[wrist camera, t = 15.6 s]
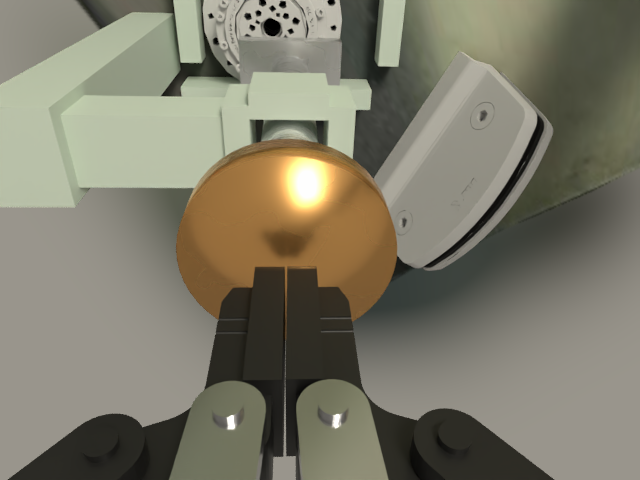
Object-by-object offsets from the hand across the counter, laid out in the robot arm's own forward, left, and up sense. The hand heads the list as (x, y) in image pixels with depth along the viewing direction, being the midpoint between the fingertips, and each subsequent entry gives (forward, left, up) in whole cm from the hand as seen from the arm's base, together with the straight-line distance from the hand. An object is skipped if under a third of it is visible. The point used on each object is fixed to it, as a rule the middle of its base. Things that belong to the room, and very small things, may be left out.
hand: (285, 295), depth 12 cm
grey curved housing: (-13, +9, -30) cm, 34 cm away
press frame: (+2, -3, -30) cm, 30 cm away
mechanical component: (+1, -2, -30) cm, 31 cm away
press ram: (0, 0, -22) cm, 22 cm away
